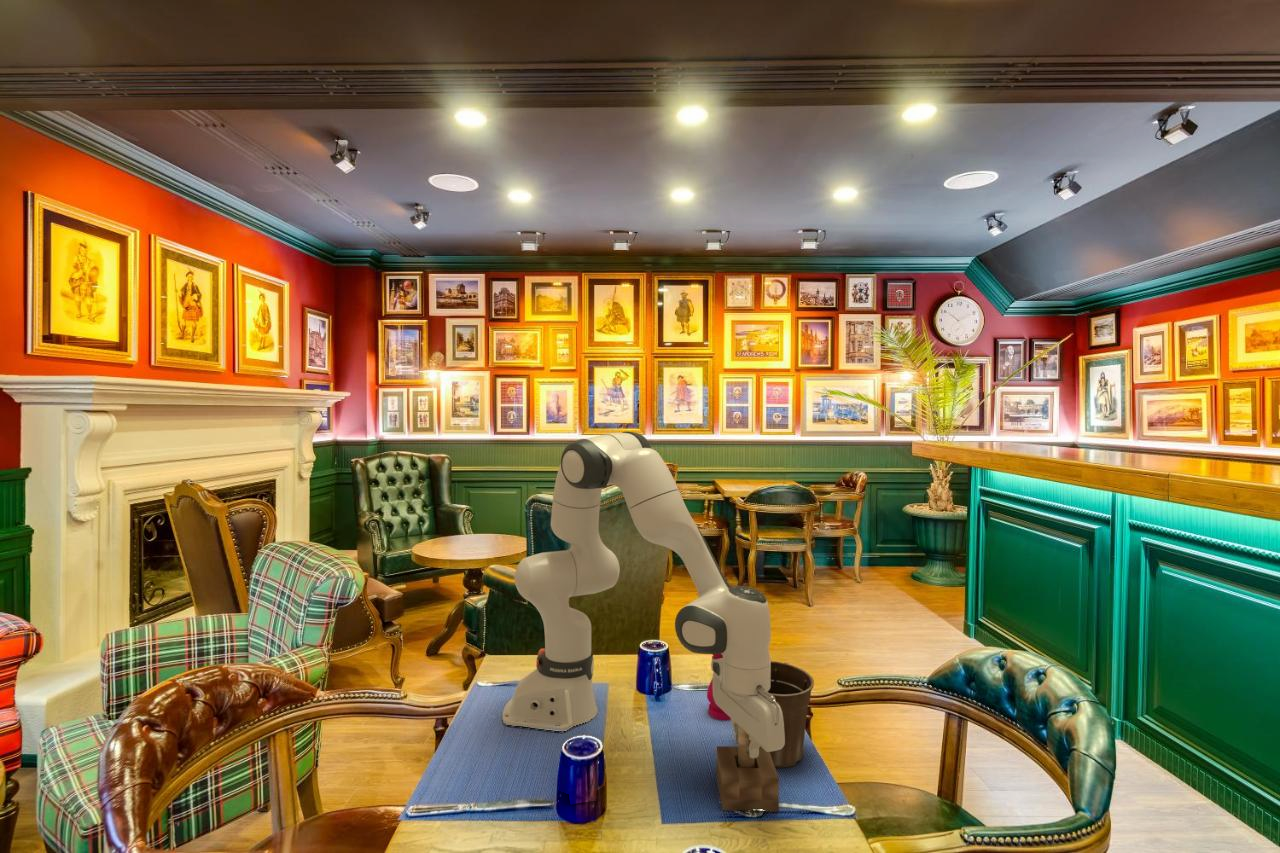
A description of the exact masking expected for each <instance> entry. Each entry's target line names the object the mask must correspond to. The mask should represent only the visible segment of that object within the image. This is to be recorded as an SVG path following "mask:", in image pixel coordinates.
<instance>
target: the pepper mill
mask: <svg viewBox="0 0 1280 853" xmlns="http://www.w3.org/2000/svg"><path fill="white" fill-rule="evenodd" d="M711 655H712V656H711V661H712V660H715V659H720V658H723V655H722V654H711ZM711 678H712V679H711V680H710V682H709V684H708V687H707V690H706V698H707V701H708V702H709V704H708V714H709V716H710V717H711V718H713V719H715V720H720V721H728V720H731V718H730V717H729V716H728V715H727V714H726V713H725V712H724V711H723V710H722V709H721V708H720V707H719V706H718V705H716V703H715V700H714V697H713V677H711Z"/></svg>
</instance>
